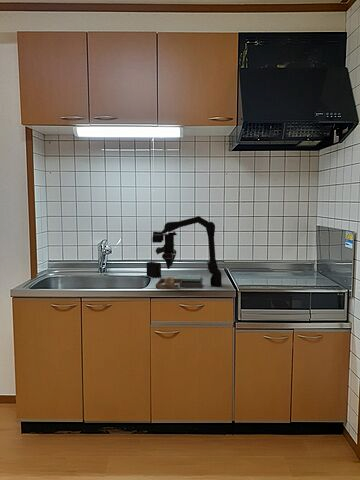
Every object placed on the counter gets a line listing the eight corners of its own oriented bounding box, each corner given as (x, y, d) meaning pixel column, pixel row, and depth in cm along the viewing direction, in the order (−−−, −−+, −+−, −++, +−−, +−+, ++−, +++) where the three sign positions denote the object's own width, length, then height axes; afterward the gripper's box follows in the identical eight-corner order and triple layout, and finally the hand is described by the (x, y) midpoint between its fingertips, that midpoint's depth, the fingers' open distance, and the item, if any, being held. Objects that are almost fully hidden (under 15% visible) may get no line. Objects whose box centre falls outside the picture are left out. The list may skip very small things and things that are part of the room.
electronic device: (156, 278, 274) (156, 263, 273) (146, 276, 281) (146, 262, 279) (161, 277, 277) (161, 262, 276) (150, 275, 284) (150, 261, 283)
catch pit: (202, 284, 254) (202, 280, 254) (201, 287, 246) (201, 283, 245) (181, 284, 256) (181, 280, 255) (179, 287, 247) (179, 283, 247)
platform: (201, 278, 273) (201, 275, 272) (199, 282, 261) (199, 279, 261) (177, 277, 275) (177, 274, 275) (175, 281, 263) (175, 278, 263)
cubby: (181, 282, 260) (181, 278, 260) (177, 289, 243) (177, 285, 243) (160, 282, 262) (160, 278, 262) (155, 288, 245) (155, 284, 244)
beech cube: (174, 284, 255) (174, 277, 254) (173, 286, 250) (173, 278, 249) (166, 284, 255) (166, 276, 255) (165, 286, 250) (165, 278, 250)
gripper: (159, 240, 260) (159, 264, 261) (153, 244, 241) (153, 270, 243) (176, 240, 258) (176, 264, 260) (171, 244, 240) (172, 270, 242)
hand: (169, 267), depth 251 cm, fingers open, 9 cm apart
